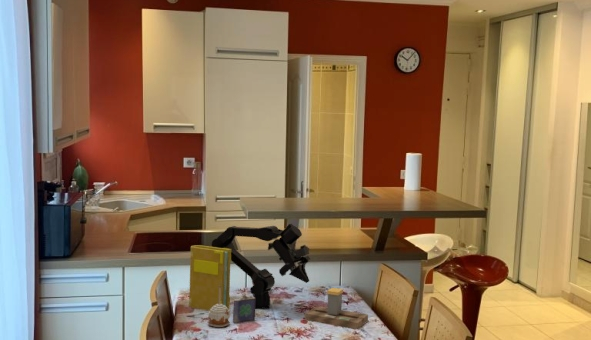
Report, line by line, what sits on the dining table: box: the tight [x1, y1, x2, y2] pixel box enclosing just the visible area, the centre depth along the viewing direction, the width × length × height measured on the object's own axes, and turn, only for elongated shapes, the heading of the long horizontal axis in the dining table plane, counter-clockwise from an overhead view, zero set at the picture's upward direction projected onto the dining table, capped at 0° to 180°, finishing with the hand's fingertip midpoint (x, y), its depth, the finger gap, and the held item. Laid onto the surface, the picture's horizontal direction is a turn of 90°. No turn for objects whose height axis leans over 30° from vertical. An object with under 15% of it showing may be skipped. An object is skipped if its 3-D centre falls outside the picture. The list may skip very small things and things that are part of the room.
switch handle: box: [326, 287, 344, 315], centre depth 229 cm, size 5×6×11 cm
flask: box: [232, 293, 256, 324], centre depth 223 cm, size 9×3×11 cm, turn 121°
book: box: [188, 244, 232, 312], centre depth 238 cm, size 17×7×25 cm, turn 65°
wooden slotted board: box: [304, 305, 369, 330], centre depth 229 cm, size 22×12×3 cm, turn 64°
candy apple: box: [207, 286, 231, 328], centre depth 218 cm, size 8×8×15 cm
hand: (307, 281), depth 234 cm, fingers closed
